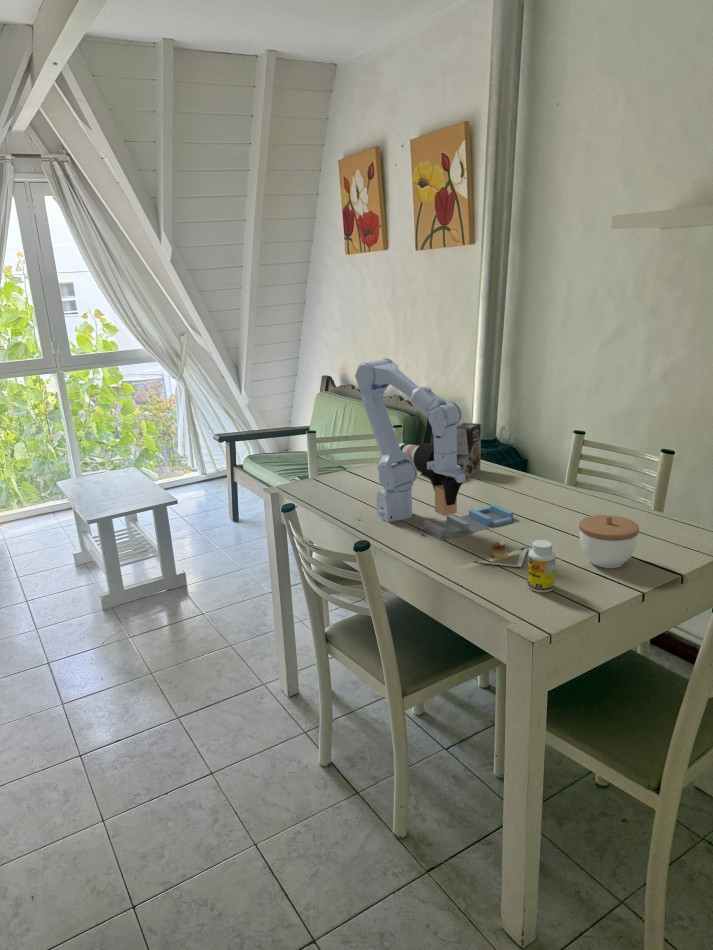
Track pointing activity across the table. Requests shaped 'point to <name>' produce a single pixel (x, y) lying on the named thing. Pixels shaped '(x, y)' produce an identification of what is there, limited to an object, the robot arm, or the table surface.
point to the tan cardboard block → (443, 502)
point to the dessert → (504, 554)
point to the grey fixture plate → (469, 522)
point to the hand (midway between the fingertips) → (445, 502)
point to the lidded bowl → (608, 539)
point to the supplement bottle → (541, 566)
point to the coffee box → (469, 448)
